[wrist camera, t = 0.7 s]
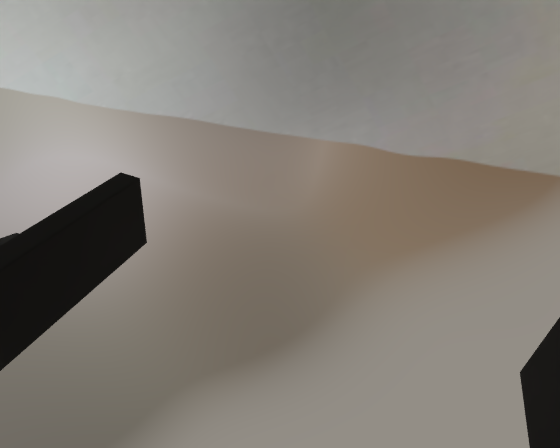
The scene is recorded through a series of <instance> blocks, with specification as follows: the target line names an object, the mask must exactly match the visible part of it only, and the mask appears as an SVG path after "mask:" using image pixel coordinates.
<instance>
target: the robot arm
mask: <svg viewBox="0 0 560 448" xmlns="http://www.w3.org/2000/svg"><path fill="white" fill-rule="evenodd" d="M146 243H147V241H146V231H145V223H144V214H143V205H142V197H141V187H140V178H137V177H134V176H130V175H127V174H124V173H119V174H118V175H116V176H114V177H113V178H111V179H109V180H108V181H106V182H104V183H103V184H101V185H99V186H98V187H96V188H94V189H93V190H91V191H90V192H88V193H87V194H84V195H83V196H81V197H80V198H78V199H76V200H75V201H73V202H71V203H70V204H68V205H66V206H65V207H63V208H61V209H60V210H58V211H56V212H55V213H53V214H52V215H50V216H48V217H47V218H45V219H43V220H42V221H40V222H38V223H37V224H35V225H33V226H32V227H30V228H28V229H27V230H25V231H23V232H22V233H20V234H18V233H15V234H12V235H9V236H6V237H3V238H0V371H1V370H2V369H3V368H4V367H5V366H6V365H7V364H9V363H10V362H11V361H12V360H13V359H14V358H15V357H17V356H18V355H19V354H20V353H21V352H22V351H23V350H25V349H26V348H27V347H28V346H29V345H30V344H31V343H33V342H34V341H35V340H36V339H37V338H38V337H39V336H41V335H42V334H43V333H44V332H45V331H46V330H47V329H49V328H50V327H51V326H52V325H53V324H54V323H55V322H57V320H59V319H60V318H61V317H62V316H63V315H64V314H66V313H67V312H68V311H69V310H70V309H71V308H73V307H74V306H75V305H76V304H77V303H78V302H79V301H81V300H82V299H83V298H84V297H85V296H86V295H87V294H89V292H91V291H92V290H93V289H94V288H95V287H97V286H98V285H99V284H100V283H101V282H102V281H103V280H104V279H106V278H107V277H108V276H109V275H110V274H111V273H113V272H114V271H115V270H116V269H117V268H118V267H119V266H120V265H122V264H123V263H124V262H125V261H126V260H127V259H128V258H130V257H131V256H132V255H133V254H134V253H135V252H137V251H138V250H139V249H140V248H141V247H142V246H143V245H145V244H146ZM520 377H521V384H522V391H523V399H524V407H525V415H526V422H527V429H528V437H529V445H530V448H560V318H559V319H558V320H557V322H556V323H555V325H554V326H553V327H552V329H551V330H550V331H549V333H548V334H547V336H546V337H545V339H544V340H543V341H542V342H541V344H540V345H539V347H538V348H537V350H536V351H535V352H534V354H533V355H532V356H531V358H530V359H529V360H528V362H527V363H526V365H525V366H524V367H523V369H522V370H521V372H520Z"/></svg>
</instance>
